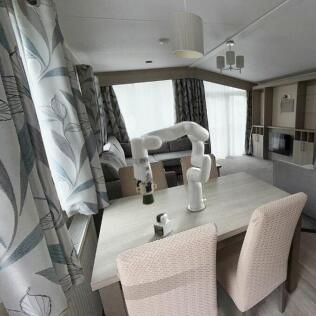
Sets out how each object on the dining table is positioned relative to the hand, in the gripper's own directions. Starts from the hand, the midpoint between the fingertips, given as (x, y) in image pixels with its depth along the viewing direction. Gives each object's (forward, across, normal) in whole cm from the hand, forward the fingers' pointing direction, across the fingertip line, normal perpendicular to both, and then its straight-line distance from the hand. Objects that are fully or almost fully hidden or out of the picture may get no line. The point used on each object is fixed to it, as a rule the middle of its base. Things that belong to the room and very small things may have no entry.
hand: (144, 190), depth 112 cm
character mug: (+9, 0, -2) cm, 9 cm away
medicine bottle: (+29, -5, -6) cm, 30 cm away
